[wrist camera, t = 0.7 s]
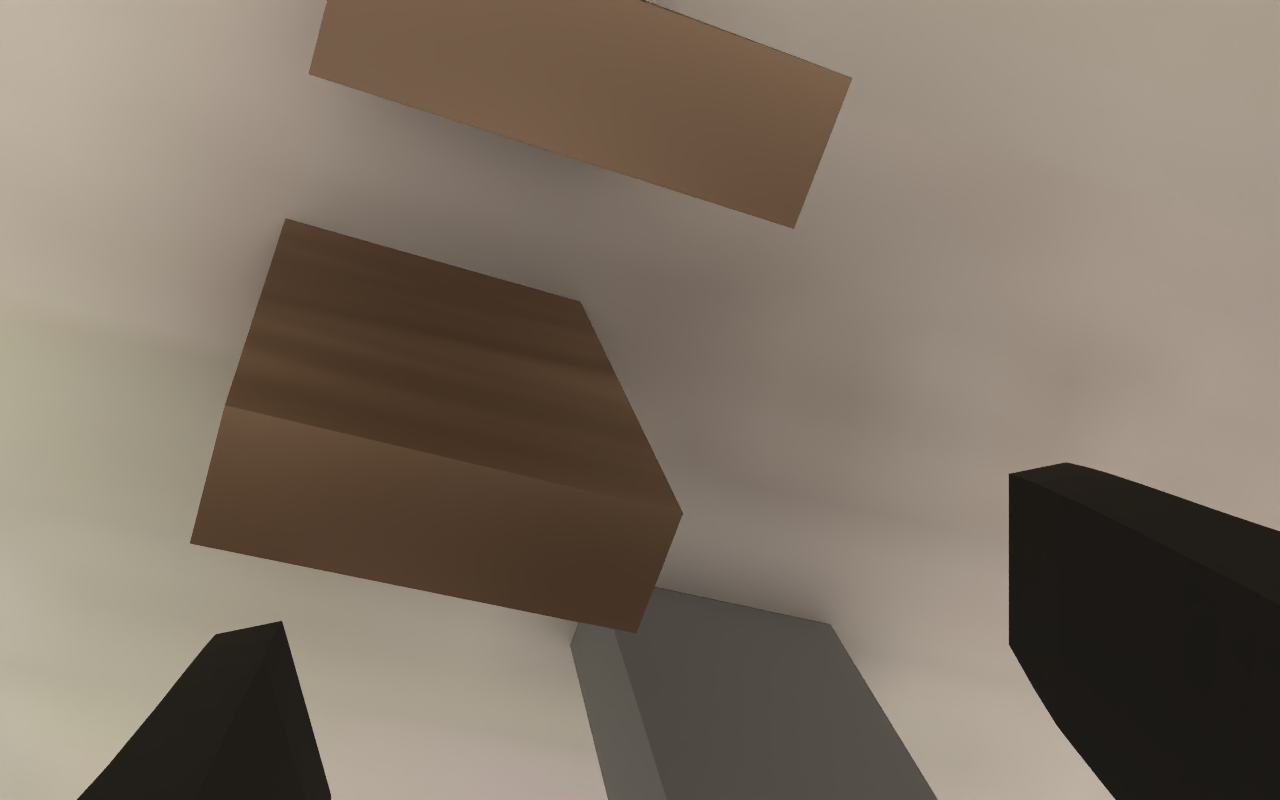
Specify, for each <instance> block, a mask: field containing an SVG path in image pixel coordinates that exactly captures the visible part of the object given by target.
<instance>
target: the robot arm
mask: <svg viewBox="0 0 1280 800" xmlns="http://www.w3.org/2000/svg"><path fill="white" fill-rule="evenodd" d="M1009 645H1010V647H1011V649H1012V651H1013V652H1014V654H1015V656H1016V658H1017V659H1018V661H1019V663H1020V665H1021V667H1022V668H1023V670H1024V672H1025V674H1026V675H1027V677H1028V679H1029V681H1030V682H1031V684H1032V686H1033V688H1034V689H1035V691H1036V693H1037V694H1038V696H1039V697H1040V699H1041V701H1042V702H1043V704H1044V705H1045V707H1046V709H1047V710H1048V712H1049V714H1050V715H1051V717H1052V718H1053V720H1054V722H1055V723H1056V725H1057V726H1058V727H1059V729H1060V730H1061V731H1062V733H1063V734H1064V735H1065V737H1066V738H1067V739H1068V740H1069V742H1070V743H1071V744H1072V746H1073V747H1074V748H1075V749H1076V751H1077V752H1078V753H1079V754H1080V756H1081V757H1082V758H1083V759H1084V761H1085V762H1086V763H1087V764H1088V766H1089V767H1090V768H1091V769H1092V771H1093V772H1094V773H1095V775H1096V776H1097V777H1098V778H1099V780H1100V781H1101V782H1102V783H1103V785H1104V786H1105V787H1106V788H1107V790H1108V791H1109V792H1110V793H1111V794H1112V796H1113V797H1114V798H1115V799H1116V800H1280V531H1277V530H1274V529H1271V528H1268V527H1265V526H1262V525H1259V524H1256V523H1253V522H1249V521H1247V520H1244V519H1241V518H1238V517H1235V516H1232V515H1229V514H1226V513H1223V512H1220V511H1217V510H1214V509H1211V508H1209V507H1206V506H1203V505H1200V504H1197V503H1194V502H1191V501H1188V500H1185V499H1183V498H1180V497H1177V496H1174V495H1171V494H1168V493H1165V492H1162V491H1160V490H1157V489H1154V488H1151V487H1148V486H1145V485H1142V484H1139V483H1136V482H1133V481H1130V480H1127V479H1124V478H1121V477H1118V476H1115V475H1112V474H1108V473H1105V472H1102V471H1098V470H1095V469H1091V468H1088V467H1084V466H1080V465H1075V464H1071V463H1061V464H1056V465H1051V466H1046V467H1041V468H1036V469H1031V470H1026V471H1021V472H1016V473H1011V474H1009ZM77 800H331V793H330V790H329V786H328V783H327V779H326V776H325V772H324V769H323V765H322V761H321V758H320V754H319V751H318V747H317V744H316V740H315V737H314V733H313V729H312V726H311V722H310V719H309V715H308V712H307V708H306V704H305V701H304V697H303V694H302V690H301V687H300V683H299V680H298V676H297V672H296V669H295V665H294V662H293V658H292V655H291V651H290V648H289V644H288V640H287V637H286V633H285V630H284V626H283V623H282V621H280V622H275V623H270V624H265V625H260V626H255V627H250V628H245V629H240V630H235V631H230V632H225V633H220V634H216V635H215V636H214V637H213V638H212V639H211V640H210V641H209V643H208V644H207V645H206V646H205V647H204V648H203V650H202V651H201V652H200V653H199V654H198V656H197V657H196V658H195V659H194V661H193V662H192V663H191V664H190V666H189V667H188V668H187V669H186V671H185V672H184V673H183V674H182V676H181V677H180V678H179V679H178V681H177V682H176V683H175V684H174V686H173V687H172V688H171V689H170V691H169V692H168V693H167V694H166V696H165V697H164V698H163V699H162V701H161V702H160V703H159V704H158V706H157V707H156V708H155V709H154V711H153V712H152V713H151V714H150V716H149V717H148V718H147V719H146V720H145V722H144V723H143V724H142V725H141V726H140V728H139V729H138V730H137V731H136V732H135V734H134V735H133V736H132V737H131V738H130V740H129V741H128V742H127V743H126V744H125V746H124V747H123V748H122V749H121V750H120V752H119V753H118V754H117V755H116V756H115V758H114V759H113V760H112V761H111V763H110V764H109V765H108V766H107V767H106V768H105V770H104V771H103V772H102V773H101V774H100V775H99V776H98V777H97V778H96V779H95V781H94V782H93V783H92V784H91V785H90V786H89V787H88V788H87V789H86V790H85V791H84V792H83V794H82V795H81V796H80V797H79V798H78V799H77Z"/></svg>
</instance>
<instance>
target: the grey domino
mask: <svg viewBox="0 0 1280 800" xmlns="http://www.w3.org/2000/svg"><path fill="white" fill-rule="evenodd" d="M570 646H571V650H572V655H573V659H574V663H575V667H576V671H577V675H578V679H579V683H580V687H581V691H582V695H583V699H584V703H585V707H586V711H587V716H588V720H589V724H590V728H591V732H592V736H593V740H594V744H595V748H596V752H597V756H598V760H599V764H600V768H601V772H602V777H603V781H604V785H605V789H606V793H607V797H608V800H938V799H937V798H936V796H935V794H934V793H933V791H932V790H931V788H930V786H929V785H928V783H927V781H926V780H925V778H924V776H923V775H922V773H921V772H920V770H919V768H918V767H917V765H916V763H915V762H914V760H913V759H912V757H911V755H910V754H909V752H908V750H907V749H906V747H905V746H904V744H903V742H902V741H901V739H900V737H899V736H898V734H897V732H896V731H895V729H894V728H893V726H892V724H891V723H890V721H889V719H888V718H887V716H886V715H885V713H884V711H883V710H882V708H881V706H880V705H879V703H878V702H877V700H876V698H875V697H874V695H873V693H872V692H871V690H870V688H869V687H868V685H867V684H866V682H865V680H864V679H863V677H862V675H861V674H860V672H859V671H858V669H857V667H856V666H855V664H854V662H853V661H852V659H851V657H850V656H849V654H848V653H847V651H846V649H845V648H844V646H843V644H842V643H841V641H840V640H839V638H838V636H837V635H836V633H835V631H834V630H833V628H832V627H831V625H829V624H824V623H819V622H815V621H810V620H805V619H801V618H796V617H791V616H787V615H782V614H777V613H773V612H768V611H763V610H759V609H754V608H750V607H745V606H740V605H736V604H731V603H726V602H722V601H717V600H712V599H708V598H703V597H698V596H694V595H689V594H684V593H680V592H675V591H670V590H666V589H661V588H657V587H654V589H653V592H652V594H651V597H650V599H649V602H648V605H647V607H646V610H645V612H644V615H643V617H642V620H641V623H640V625H639V628H638V630H637V633H636V634H635V633H630V632H625V631H621V630H616V629H611V628H606V627H601V626H596V625H591V624H586V623H581V622H579V624H578V626H577V629H576V632H575V635H574V637H573V640H572V643H571V645H570Z"/></svg>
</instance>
